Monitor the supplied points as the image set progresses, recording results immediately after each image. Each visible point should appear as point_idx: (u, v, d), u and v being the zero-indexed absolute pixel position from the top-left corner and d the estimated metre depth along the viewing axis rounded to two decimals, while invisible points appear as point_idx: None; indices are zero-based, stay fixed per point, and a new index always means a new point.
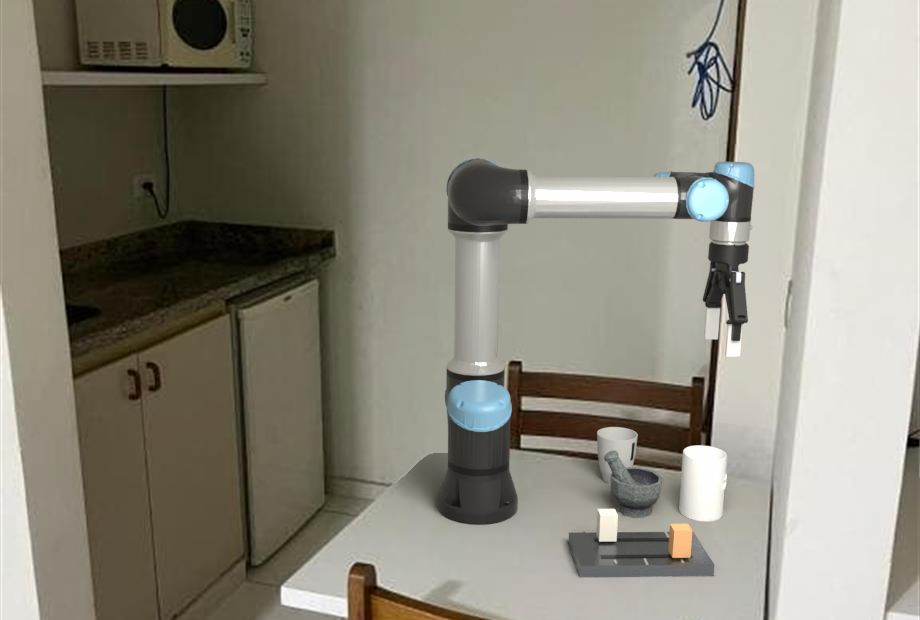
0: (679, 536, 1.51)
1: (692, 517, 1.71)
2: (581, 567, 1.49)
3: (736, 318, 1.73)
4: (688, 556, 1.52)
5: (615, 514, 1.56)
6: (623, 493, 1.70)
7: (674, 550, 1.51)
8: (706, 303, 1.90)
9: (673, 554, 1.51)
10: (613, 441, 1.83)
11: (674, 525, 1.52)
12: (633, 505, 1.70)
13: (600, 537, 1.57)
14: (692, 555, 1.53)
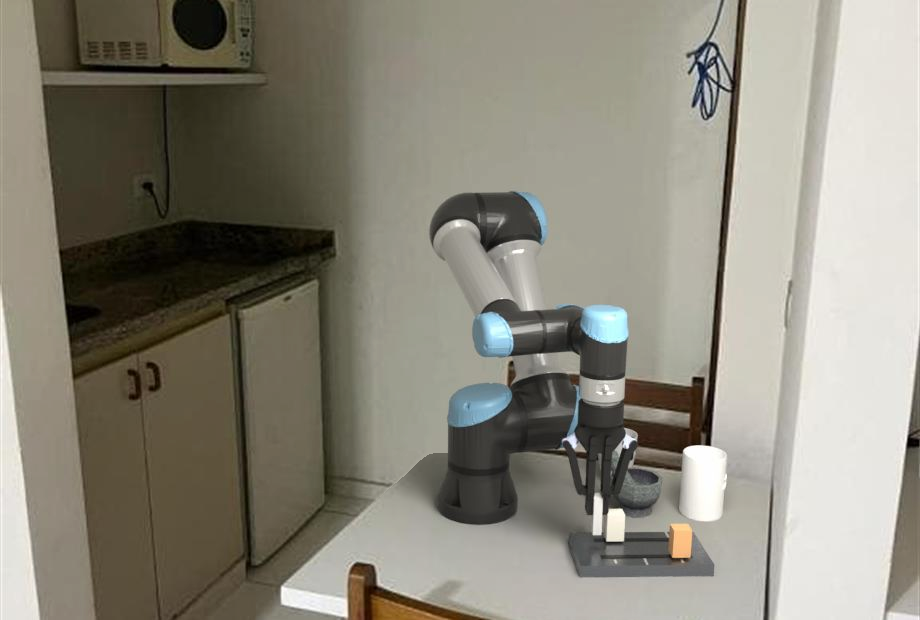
0: (679, 536, 1.51)
1: (692, 517, 1.71)
2: (581, 567, 1.49)
3: (575, 486, 1.57)
4: (688, 556, 1.52)
5: (622, 514, 1.56)
6: (623, 493, 1.70)
7: (674, 550, 1.51)
8: None
9: (673, 554, 1.51)
10: None
11: (674, 525, 1.52)
12: (633, 505, 1.70)
13: (607, 537, 1.57)
14: (692, 555, 1.53)
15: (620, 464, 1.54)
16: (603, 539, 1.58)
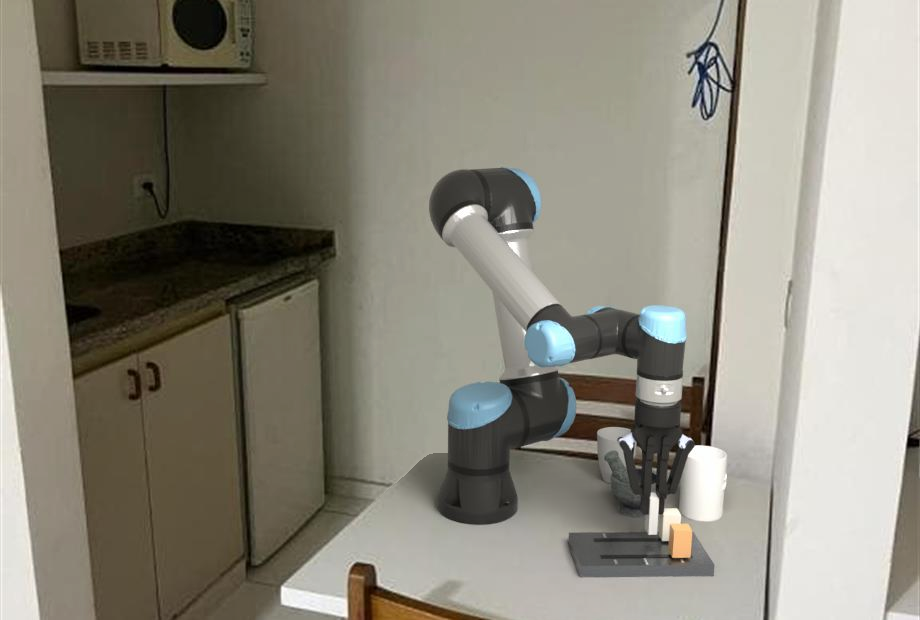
0: (679, 536, 1.51)
1: (692, 517, 1.71)
2: (581, 567, 1.49)
3: (630, 486, 1.57)
4: (688, 556, 1.52)
5: (678, 514, 1.57)
6: (623, 493, 1.70)
7: (674, 550, 1.51)
8: None
9: (673, 554, 1.51)
10: (613, 441, 1.83)
11: (674, 525, 1.52)
12: (633, 505, 1.70)
13: (663, 536, 1.57)
14: (692, 555, 1.53)
15: (676, 464, 1.55)
16: (603, 539, 1.58)
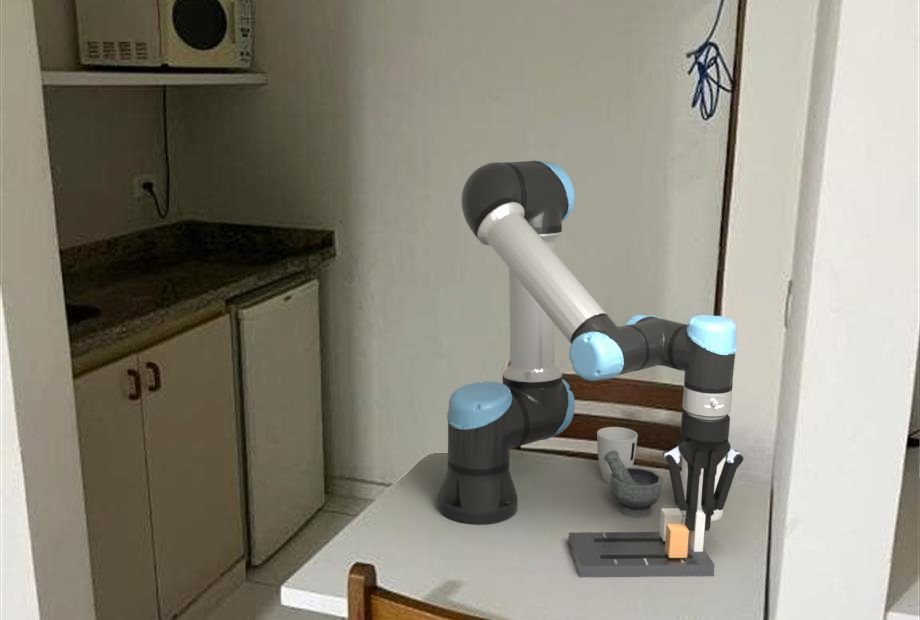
0: (676, 536, 1.51)
1: None
2: (581, 567, 1.49)
3: (675, 501, 1.52)
4: (684, 556, 1.51)
5: (679, 514, 1.57)
6: (623, 493, 1.70)
7: (671, 550, 1.51)
8: None
9: (670, 554, 1.51)
10: (613, 441, 1.83)
11: (671, 525, 1.52)
12: (633, 505, 1.70)
13: (664, 536, 1.57)
14: (692, 555, 1.53)
15: (724, 479, 1.50)
16: (603, 539, 1.58)
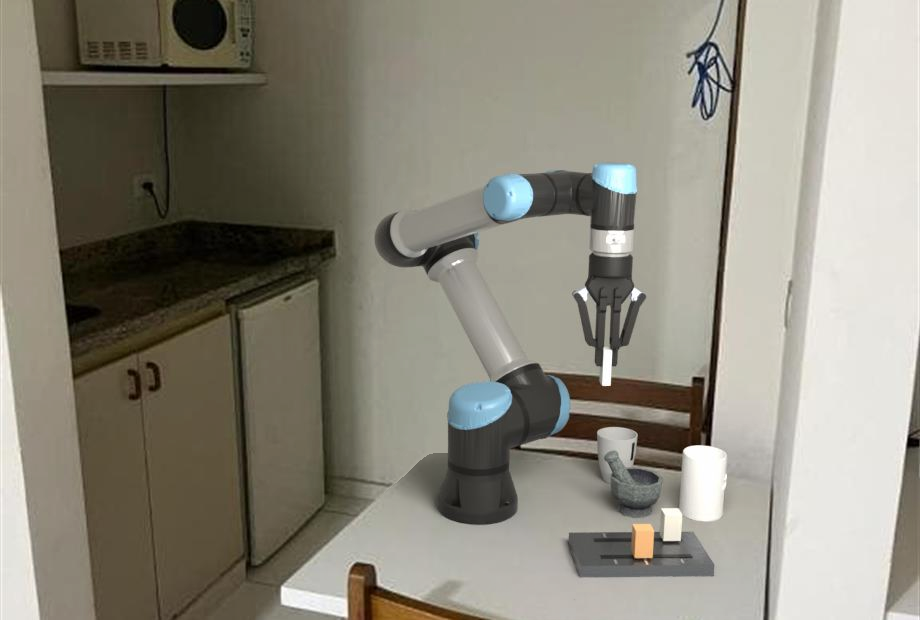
0: (641, 536, 1.50)
1: (692, 517, 1.71)
2: (581, 567, 1.49)
3: (585, 339, 1.64)
4: (650, 556, 1.51)
5: (679, 514, 1.57)
6: (623, 493, 1.70)
7: (636, 550, 1.51)
8: None
9: (635, 554, 1.51)
10: (613, 441, 1.83)
11: (637, 525, 1.52)
12: (633, 505, 1.70)
13: (664, 536, 1.57)
14: (692, 555, 1.53)
15: (628, 316, 1.62)
16: (603, 539, 1.58)
